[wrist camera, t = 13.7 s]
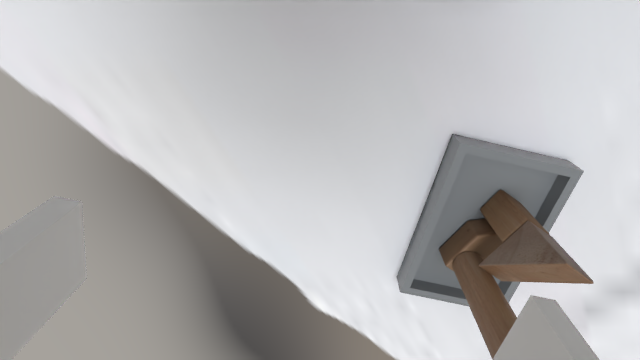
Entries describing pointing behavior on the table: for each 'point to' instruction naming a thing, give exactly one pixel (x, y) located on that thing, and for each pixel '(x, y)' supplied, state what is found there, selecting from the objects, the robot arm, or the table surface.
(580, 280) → the brown tapered wooden part
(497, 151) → the tray
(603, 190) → the table surface
